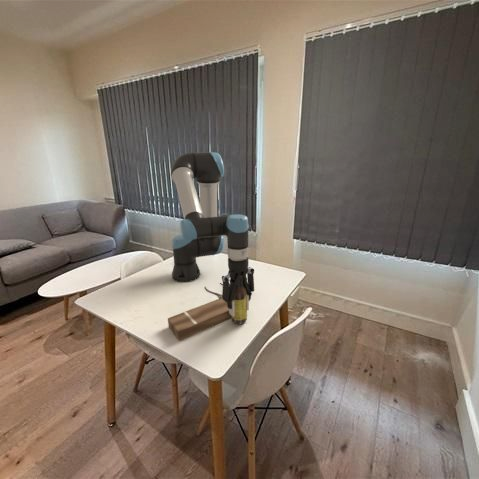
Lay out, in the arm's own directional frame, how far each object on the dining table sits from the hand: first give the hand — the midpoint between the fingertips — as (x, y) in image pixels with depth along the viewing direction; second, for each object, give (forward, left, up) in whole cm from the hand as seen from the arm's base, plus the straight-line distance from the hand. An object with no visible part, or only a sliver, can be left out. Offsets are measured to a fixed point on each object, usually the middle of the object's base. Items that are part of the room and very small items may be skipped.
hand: (239, 311), depth 103 cm
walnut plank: (-8, -10, -4) cm, 14 cm away
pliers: (-23, +7, -5) cm, 25 cm away
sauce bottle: (0, 0, -4) cm, 4 cm away
